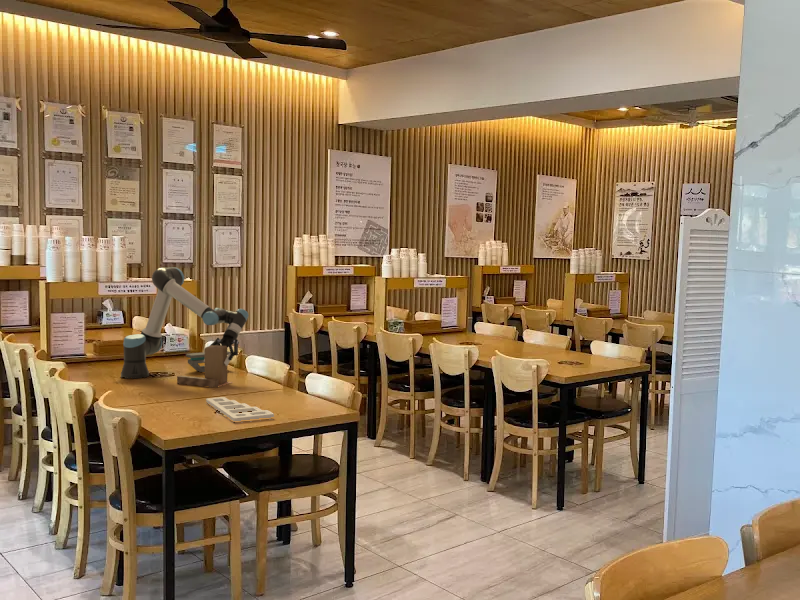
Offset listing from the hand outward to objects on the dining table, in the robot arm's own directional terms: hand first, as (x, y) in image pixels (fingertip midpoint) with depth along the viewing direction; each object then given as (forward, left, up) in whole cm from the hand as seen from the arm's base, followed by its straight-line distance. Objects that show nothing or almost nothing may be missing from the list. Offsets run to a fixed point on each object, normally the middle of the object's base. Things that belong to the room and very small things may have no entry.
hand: (215, 363), depth 399 cm
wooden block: (0, +1, -11) cm, 11 cm away
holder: (+49, -47, -12) cm, 69 cm away
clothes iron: (-29, +32, -11) cm, 45 cm away
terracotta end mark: (0, +1, -11) cm, 11 cm away
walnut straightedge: (-6, -7, -11) cm, 15 cm away
